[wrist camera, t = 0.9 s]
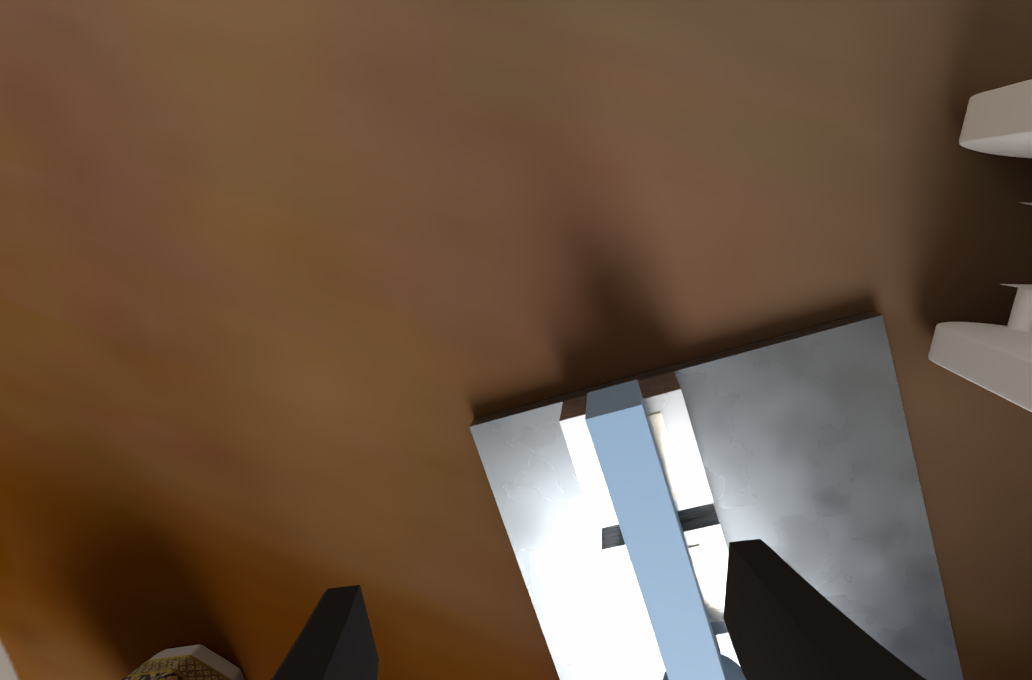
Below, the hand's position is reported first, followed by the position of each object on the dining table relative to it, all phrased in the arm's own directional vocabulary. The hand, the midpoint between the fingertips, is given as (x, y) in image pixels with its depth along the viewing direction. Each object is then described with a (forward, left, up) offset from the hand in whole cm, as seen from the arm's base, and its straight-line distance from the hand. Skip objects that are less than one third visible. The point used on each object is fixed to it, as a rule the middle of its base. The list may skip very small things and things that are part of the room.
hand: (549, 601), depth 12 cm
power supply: (-10, -2, -17) cm, 19 cm away
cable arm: (-8, -2, -13) cm, 15 cm away
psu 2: (-4, -2, -17) cm, 17 cm away
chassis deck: (-10, -3, -17) cm, 20 cm away
